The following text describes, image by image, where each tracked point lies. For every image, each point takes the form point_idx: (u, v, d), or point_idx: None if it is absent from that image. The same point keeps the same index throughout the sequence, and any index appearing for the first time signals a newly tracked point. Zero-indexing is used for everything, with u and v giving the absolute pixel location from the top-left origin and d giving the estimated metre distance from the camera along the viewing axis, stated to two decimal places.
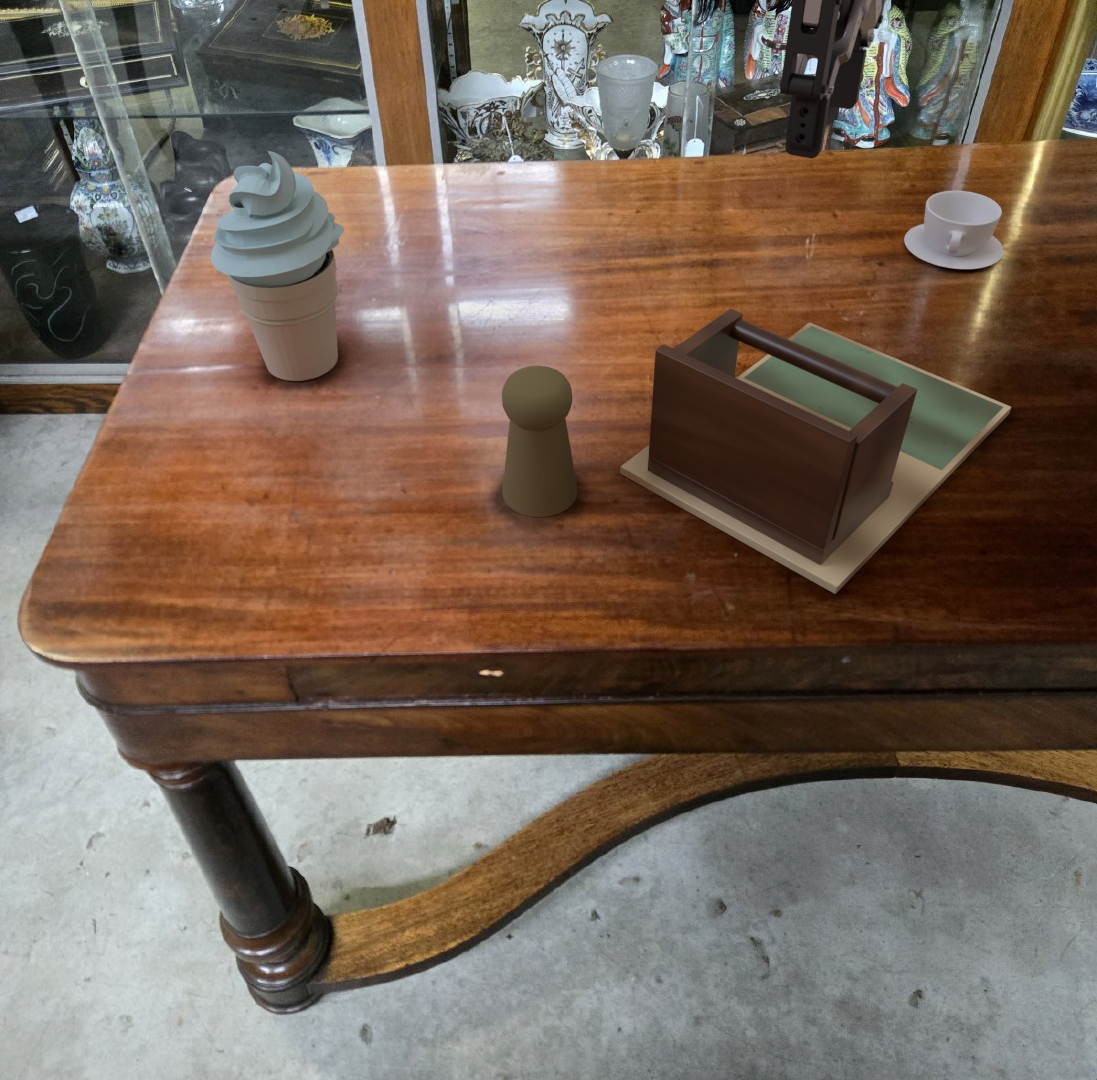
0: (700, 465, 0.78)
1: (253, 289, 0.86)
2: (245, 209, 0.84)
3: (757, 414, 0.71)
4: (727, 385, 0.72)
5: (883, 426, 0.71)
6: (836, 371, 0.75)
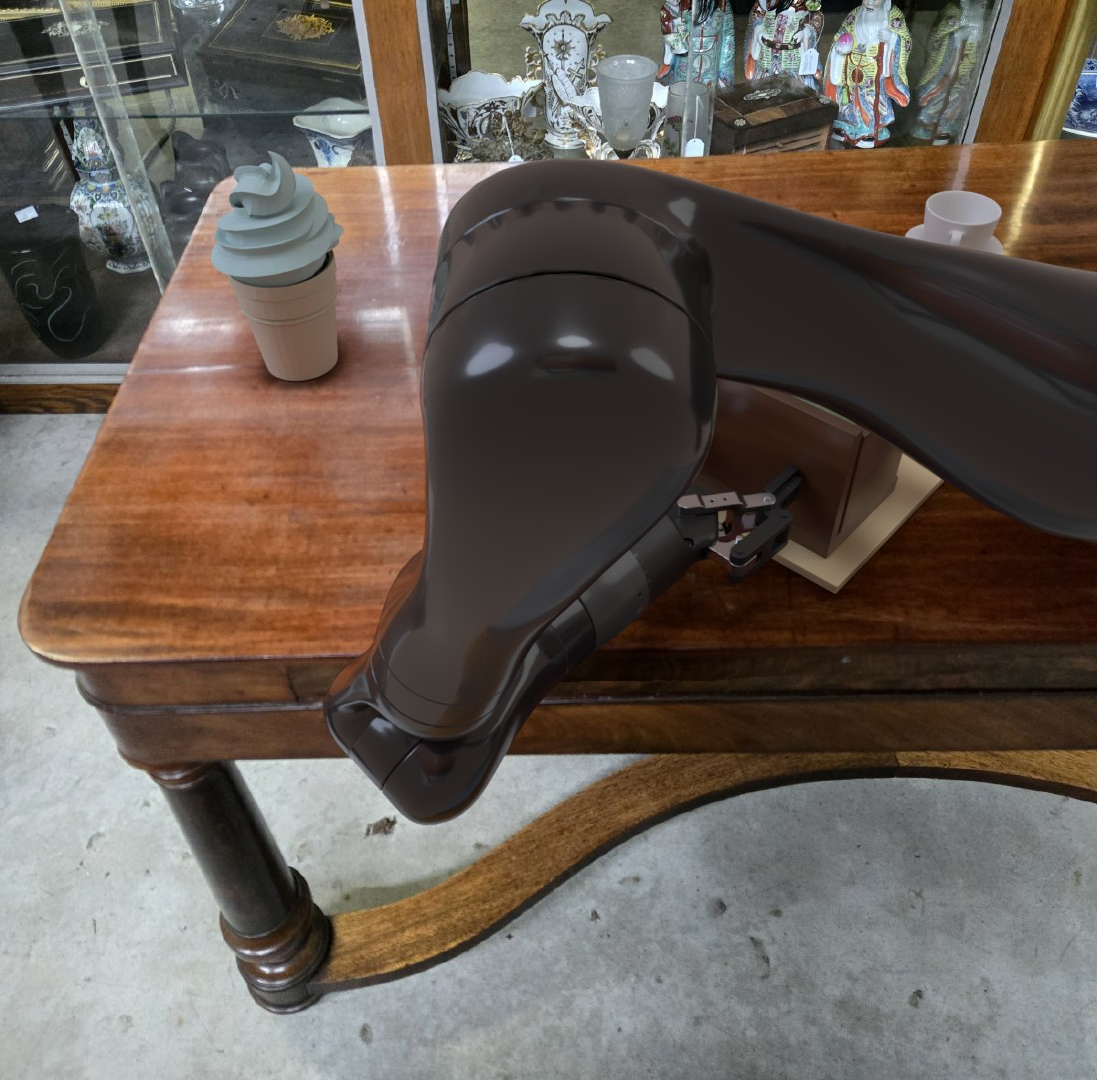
0: (706, 460, 0.79)
1: (253, 289, 0.86)
2: (245, 209, 0.84)
3: (763, 408, 0.72)
4: None
5: None
6: None
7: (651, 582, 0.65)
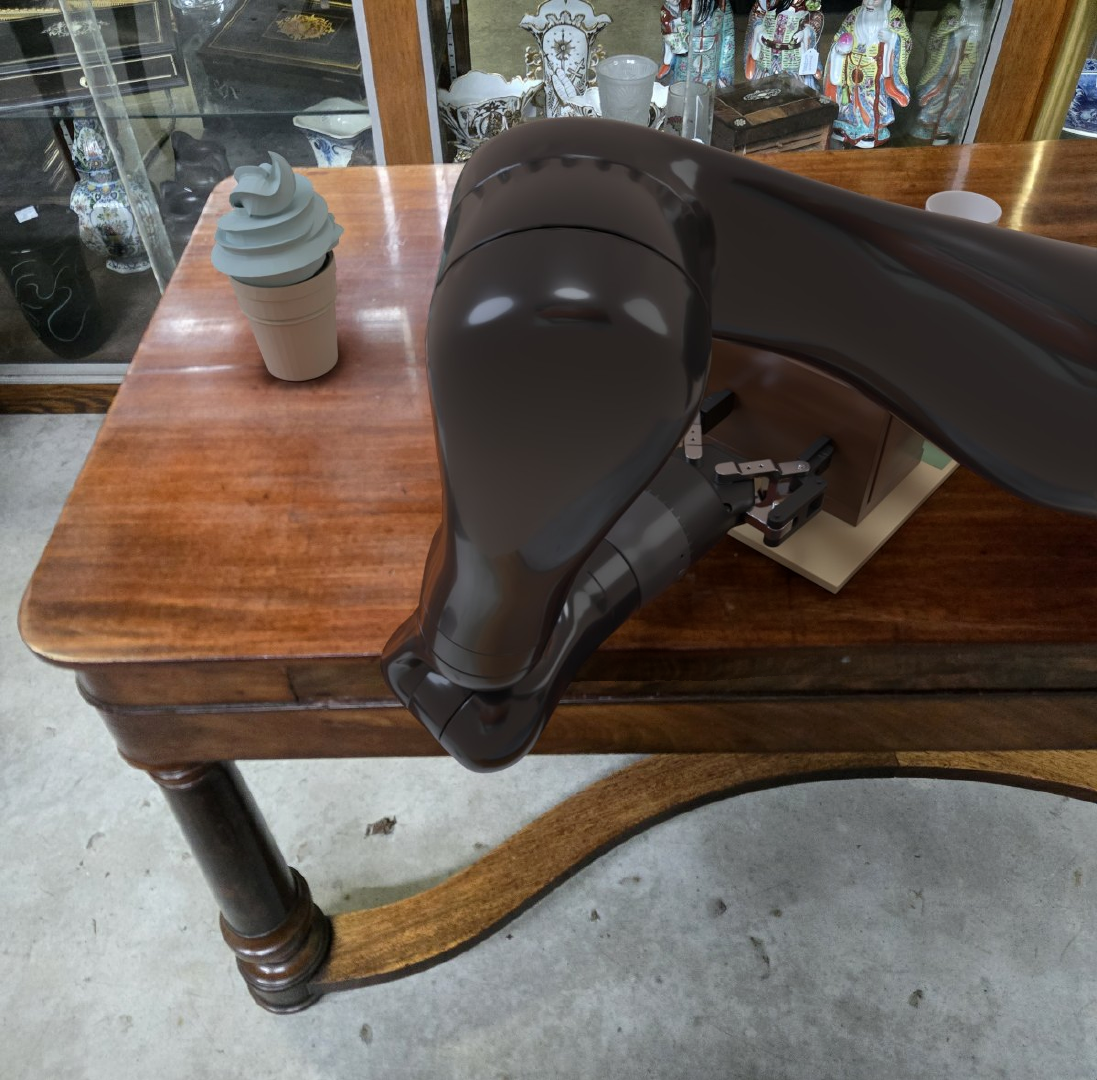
0: (738, 432, 0.81)
1: (253, 289, 0.86)
2: (245, 209, 0.84)
3: (797, 380, 0.74)
4: (767, 352, 0.75)
5: None
6: None
7: (692, 544, 0.67)
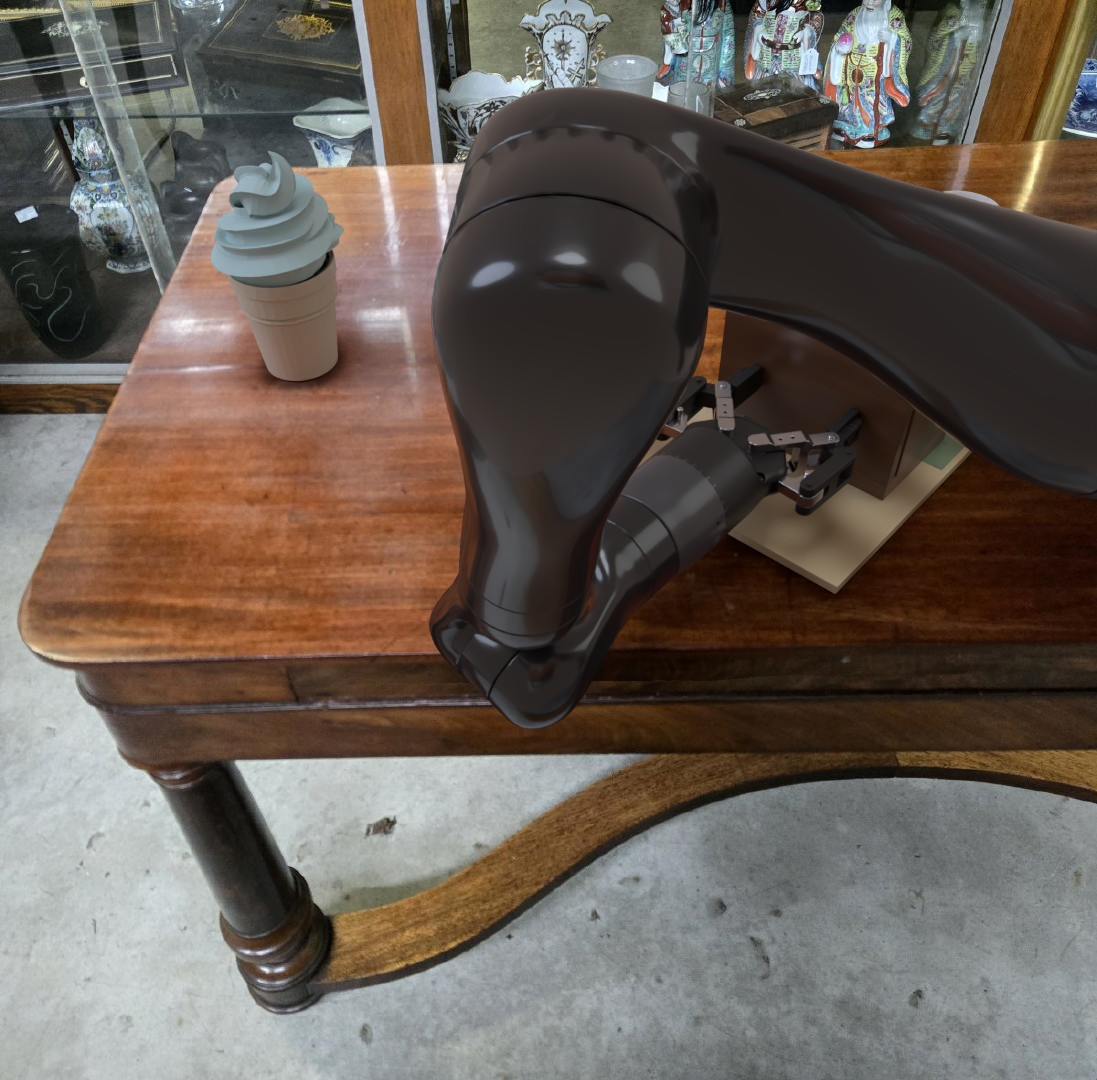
0: (766, 409, 0.83)
1: (253, 289, 0.86)
2: (245, 209, 0.84)
3: (826, 356, 0.76)
4: None
5: None
6: None
7: (727, 512, 0.69)
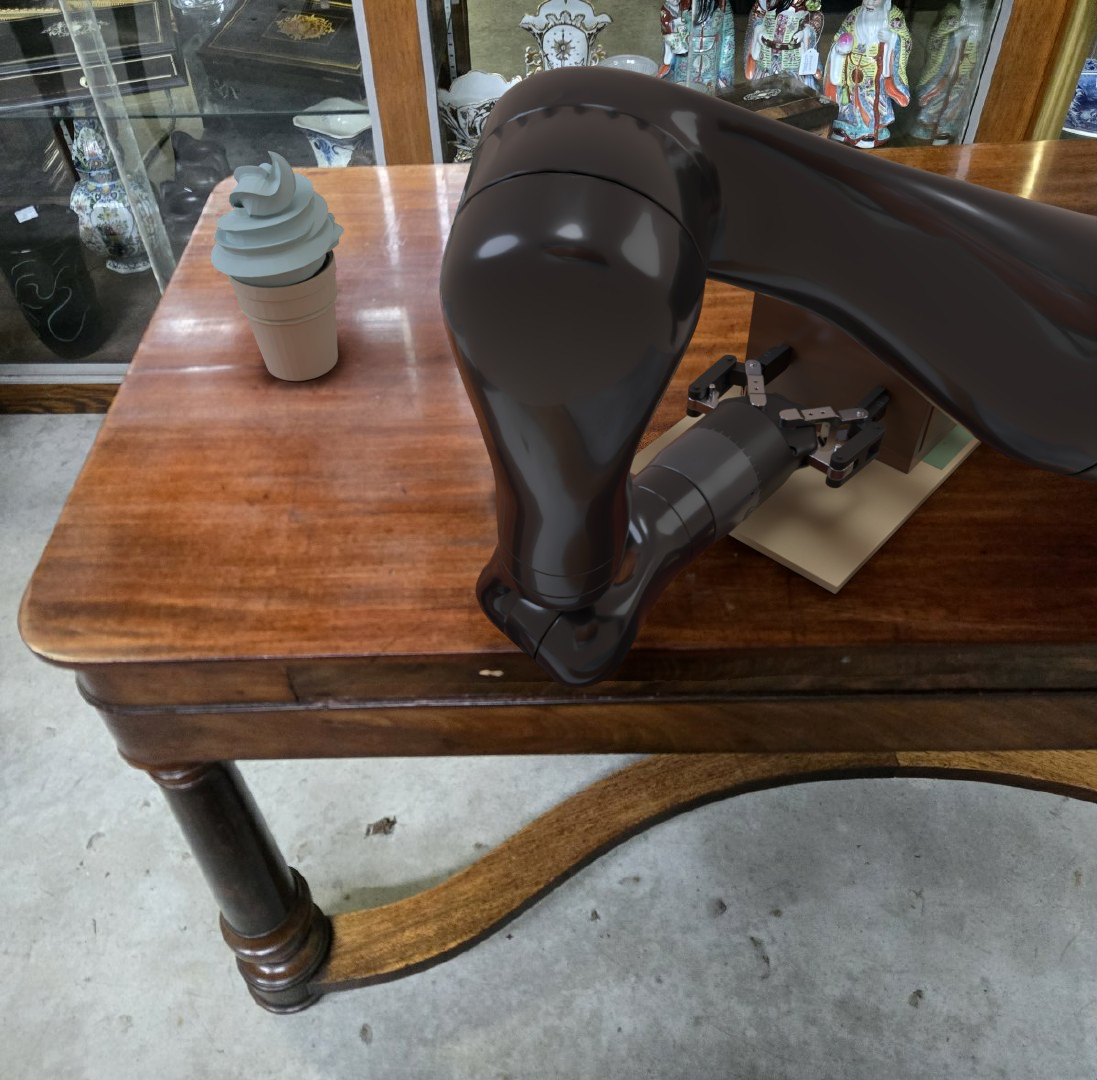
0: (793, 386, 0.85)
1: (253, 289, 0.86)
2: (245, 209, 0.84)
3: None
4: None
5: None
6: None
7: (761, 483, 0.71)
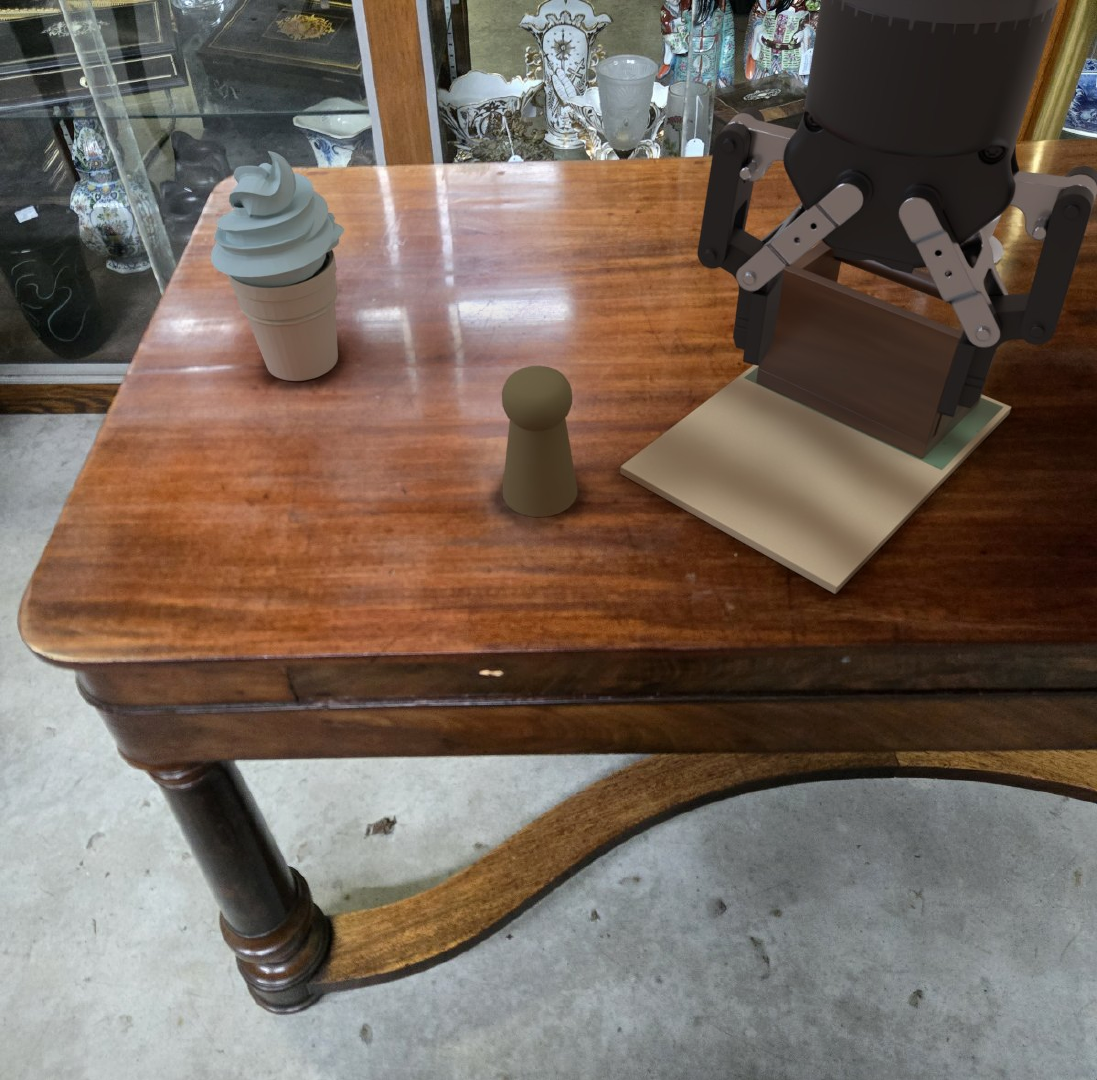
0: (809, 373, 0.87)
1: (253, 289, 0.86)
2: (245, 209, 0.84)
3: (870, 319, 0.80)
4: (842, 293, 0.80)
5: None
6: None
7: None
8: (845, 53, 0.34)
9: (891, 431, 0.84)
